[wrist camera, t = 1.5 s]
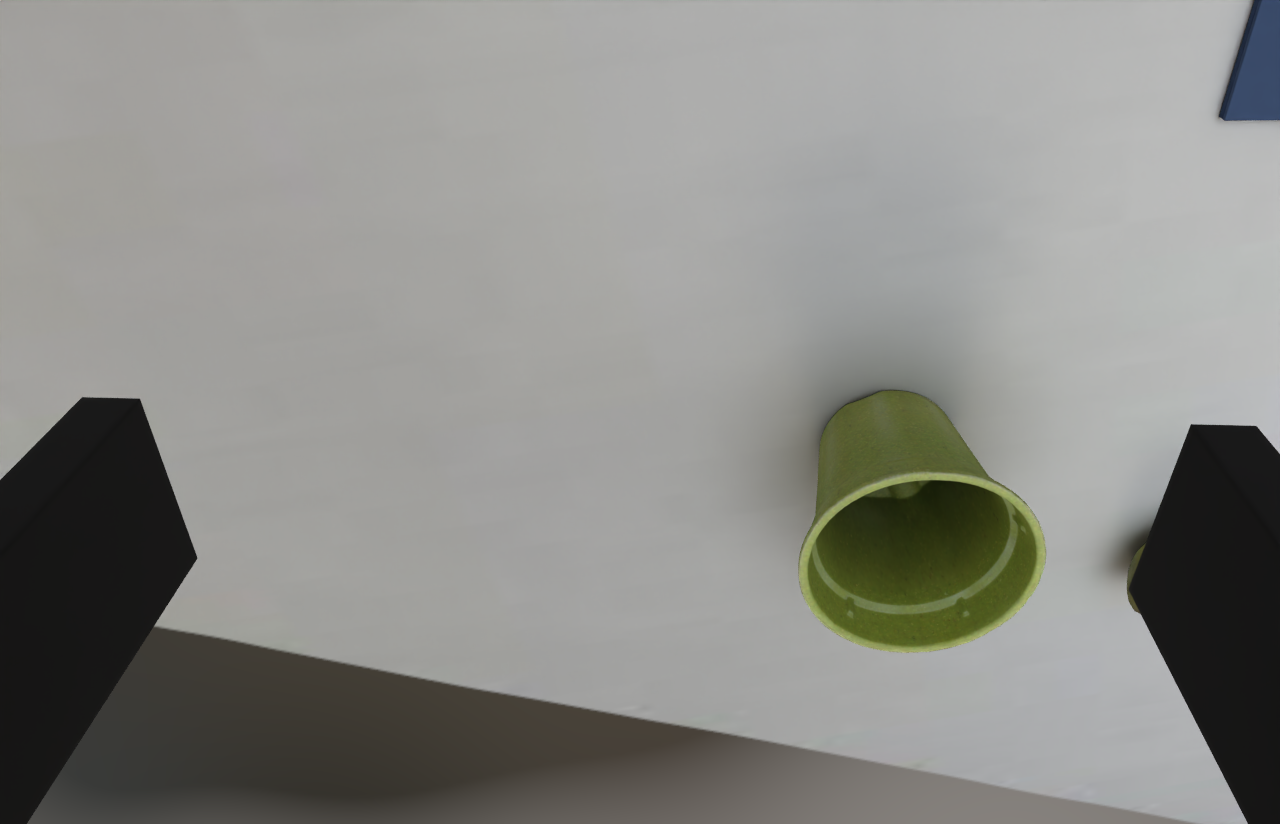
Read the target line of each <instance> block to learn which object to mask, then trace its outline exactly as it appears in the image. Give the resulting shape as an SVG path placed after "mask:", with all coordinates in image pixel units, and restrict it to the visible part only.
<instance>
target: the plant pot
mask: <svg viewBox="0 0 1280 824" xmlns="http://www.w3.org/2000/svg"><path fill="white" fill-rule="evenodd" d="M1045 560H1046V547H1045V539H1044V535H1043V531H1042V529H1041V526H1040V524H1039V521H1038V520H1037V518H1036V516H1035V515H1034V513H1033V512H1032V510H1031V509H1030V508H1029V507H1028V505H1027V504H1026V503H1025V502H1024V501H1023V500H1022V499H1021V498H1020V497H1019V496H1018V495H1017V494H1015V493H1014V492H1013V491H1011V490H1010V489H1008V488H1007V487H1005V486H1004V485H1002V484H1000V483H998V482H996V481H994V480H993V479H992V478H990V477H989V476H988V475H987V473H986V472H985V470H984V469H983V468H982V466H981V465H980V463H979V462H978V460H977V459H976V458H975V456H974V455H973V453H972V452H971V450H970V449H969V448H968V446H967V445H966V443H965V442H964V440H963V439H962V437H961V436H960V434H959V433H958V431H957V430H956V428H955V427H954V426H953V424H952V423H951V421H950V420H949V418H948V417H947V415H946V414H945V413H944V412H943V411H942V410H941V409H940V408H939V407H938V406H937V405H936V404H935V403H933V402H932V401H930V400H929V399H927V398H925V397H923V396H920V395H918V394H915V393H911V392H905V391H895V390H894V391H880V392H877V393H875V394H873V395H871V396H869V397H867V398H864V399H861V400H859V401H856V402H853V403H849V404H847V405H845V406H844V407H843V408H841V409H840V410H839V411H838V412H837V413H836V414H835V415H834V416H833V417H832V418H831V420H830V421H829V422H828V424H827V426H826V427H825V429H824V432H823V434H822V437H821V442H820V448H819V465H818V486H817V501H816V515H815V518H814V521H813V523H812V526H811V528H810V529H809V531H808V533H807V535H806V537H805V539H804V542H803V544H802V548H801V551H800V556H799V565H798V573H799V583H800V587H801V591H802V594H803V597H804V599H805V601H806V603H807V605H808V606H809V608H810V609H811V611H812V612H813V614H814V615H815V616H816V617H817V619H818V620H819V621H820V622H821V623H822V624H823V625H825V626H826V627H827V628H828V629H830V630H831V631H832V632H834V633H836V634H837V635H839V636H841V637H843V638H844V639H847V640H849V641H851V642H853V643H855V644H858V645H861V646H864V647H868V648H872V649H877V650H883V651H889V652H900V653H909V652H930V651H936V650H942V649H947V648H951V647H955V646H958V645H961V644H965V643H968V642H971V641H973V640H975V639H977V638H979V637H981V636H983V635H985V634H987V633H988V632H989V631H992V630H994V629H995V628H997V627H999V626H1001V625H1002V624H1003V623H1004V622H1006V621H1008V620H1009V619H1010V618H1012V617H1013V616H1014V615H1015V614H1016V613H1017V612H1018V611H1019V610H1020V609H1021V608H1022V607H1023V606H1024V604H1025V603H1026V602H1027V600H1028V599H1029V597H1030V596H1031V595H1032V594H1033V593H1034V591H1035V589H1036V587H1037V585H1038V584H1039V581H1040V578H1041V575H1042V573H1043V570H1044V565H1045Z"/></svg>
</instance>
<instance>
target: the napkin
mask: <svg viewBox="0 0 1280 824" xmlns="http://www.w3.org/2000/svg"><path fill="white" fill-rule="evenodd" d="M1219 117H1220V118H1222V119H1223V120H1225V121H1226V120H1280V0H1255V1H1254V4H1253V7H1252V10H1251V14H1250V17H1249V20H1248V23H1247V27H1246V30H1245V33H1244V36H1243V40H1242V43H1241V46H1240V50H1239V53H1238V56H1237V59H1236V63H1235V66H1234V69H1233V72H1232V76H1231V79H1230V82H1229V85H1228V89H1227V92H1226V95H1225V98H1224V102H1223V105H1222V108H1221V112H1220V115H1219Z"/></svg>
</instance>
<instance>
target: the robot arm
mask: <svg viewBox="0 0 1280 824" xmlns="http://www.w3.org/2000/svg"><path fill="white" fill-rule="evenodd" d="M196 560H197V556H196V553H195V550H194V547H193V545H192V542H191V539H190V536H189V533H188V531H187V528H186V525H185V522H184V520H183V517H182V514H181V511H180V509H179V506H178V503H177V500H176V498H175V495H174V492H173V489H172V486H171V484H170V481H169V478H168V475H167V473H166V470H165V467H164V464H163V462H162V459H161V456H160V453H159V450H158V448H157V445H156V442H155V439H154V437H153V434H152V431H151V428H150V426H149V423H148V420H147V417H146V415H145V412H144V409H143V406H142V403H141V401H140V399H129V398H88V397H82V398H81V399H80V400H79V401H78V402H77V403H76V404H75V405H74V406H73V407H72V408H71V409H70V410H69V411H68V412H67V413H66V414H65V415H64V416H63V417H62V418H61V419H60V420H59V421H58V422H57V423H56V424H55V425H54V426H53V427H52V428H51V429H50V430H49V431H48V432H47V433H46V434H45V435H44V436H43V437H42V438H41V439H40V440H39V441H38V442H37V443H36V445H35V446H34V447H33V448H32V449H31V450H30V451H29V452H28V453H27V454H26V455H25V456H24V457H23V458H22V459H21V460H20V461H19V462H18V463H17V464H16V465H15V466H14V467H13V468H12V469H11V470H10V471H9V472H8V473H7V474H6V475H5V476H4V477H3V478H2V479H1V480H0V824H27V823H28V821H29V819H30V818H31V816H32V815H33V813H34V812H35V809H37V807H38V805H39V804H40V802H41V801H42V799H43V798H44V796H45V795H46V793H47V791H48V790H49V788H50V787H51V785H52V783H53V782H54V781H55V779H56V777H57V776H58V774H59V773H60V771H61V770H62V768H63V767H64V765H65V763H66V762H67V760H68V759H69V757H70V756H71V754H72V753H73V751H74V749H75V748H76V746H77V745H78V743H79V742H80V740H81V739H82V737H83V735H84V734H85V732H86V731H87V729H88V728H89V726H90V725H91V723H92V721H93V720H94V718H95V717H96V715H97V714H98V712H99V711H100V709H101V707H102V706H103V704H104V703H105V701H106V700H107V698H108V697H109V695H110V693H111V692H112V690H113V689H114V687H115V686H116V684H117V683H118V681H119V679H120V678H121V676H122V675H123V673H124V672H125V670H126V669H127V667H128V665H129V664H130V662H131V661H132V659H133V658H134V656H135V655H136V653H137V651H138V650H139V648H140V646H141V645H142V644H143V642H144V641H145V639H146V637H147V636H148V634H149V633H150V631H151V630H152V628H153V627H154V625H155V623H156V622H157V620H158V619H159V617H160V616H161V614H162V613H163V611H164V610H165V608H166V606H167V605H168V603H169V602H170V600H171V599H172V597H173V596H174V594H175V592H176V591H177V589H178V588H179V586H180V585H181V583H182V582H183V580H184V578H185V577H186V575H187V574H188V572H189V571H190V569H191V568H192V566H193V564H194V563H195V561H196ZM1128 590H1129V592H1130V594H1131V596H1132V598H1133V600H1134V602H1135V604H1136V606H1137V608H1138V610H1139V612H1140V613H1141V615H1142V617H1143V619H1144V621H1145V623H1146V625H1147V627H1148V629H1149V631H1150V633H1151V635H1152V637H1153V639H1154V641H1155V643H1156V645H1157V647H1158V649H1159V651H1160V653H1161V655H1162V656H1163V658H1164V660H1165V662H1166V664H1167V666H1168V668H1169V670H1170V672H1171V674H1172V676H1173V678H1174V680H1175V682H1176V684H1177V686H1178V688H1179V690H1180V692H1181V694H1182V696H1183V697H1184V699H1185V701H1186V703H1187V705H1188V707H1189V709H1190V711H1191V713H1192V715H1193V717H1194V719H1195V721H1196V723H1197V725H1198V727H1199V729H1200V731H1201V733H1202V735H1203V737H1204V739H1205V740H1206V742H1207V744H1208V746H1209V748H1210V750H1211V752H1212V754H1213V756H1214V758H1215V760H1216V762H1217V764H1218V766H1219V768H1220V770H1221V772H1222V774H1223V776H1224V778H1225V780H1226V782H1227V783H1228V785H1229V787H1230V789H1231V791H1232V793H1233V795H1234V797H1235V799H1236V801H1237V803H1238V805H1239V807H1240V809H1241V811H1242V813H1243V815H1244V817H1245V819H1246V821H1247V823H1248V824H1280V454H1279V453H1278V451H1277V450H1276V449H1275V448H1274V447H1273V445H1272V444H1271V443H1270V442H1269V441H1268V439H1267V438H1266V437H1265V436H1264V435H1263V433H1262V432H1261V431H1260V430H1259V429H1258V427H1257V426H1234V425H1193V424H1191V426H1190V428H1189V431H1188V434H1187V436H1186V439H1185V442H1184V444H1183V447H1182V449H1181V452H1180V455H1179V457H1178V460H1177V463H1176V465H1175V468H1174V470H1173V473H1172V476H1171V478H1170V481H1169V484H1168V486H1167V489H1166V491H1165V494H1164V497H1163V499H1162V502H1161V505H1160V507H1159V510H1158V512H1157V515H1156V518H1155V520H1154V523H1153V526H1152V528H1151V531H1150V533H1149V536H1148V539H1147V541H1146V544H1145V547H1144V549H1143V552H1142V554H1141V557H1140V560H1139V562H1138V565H1137V568H1136V570H1135V573H1134V575H1133V578H1132V581H1131V583H1130V586H1129V589H1128Z"/></svg>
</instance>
